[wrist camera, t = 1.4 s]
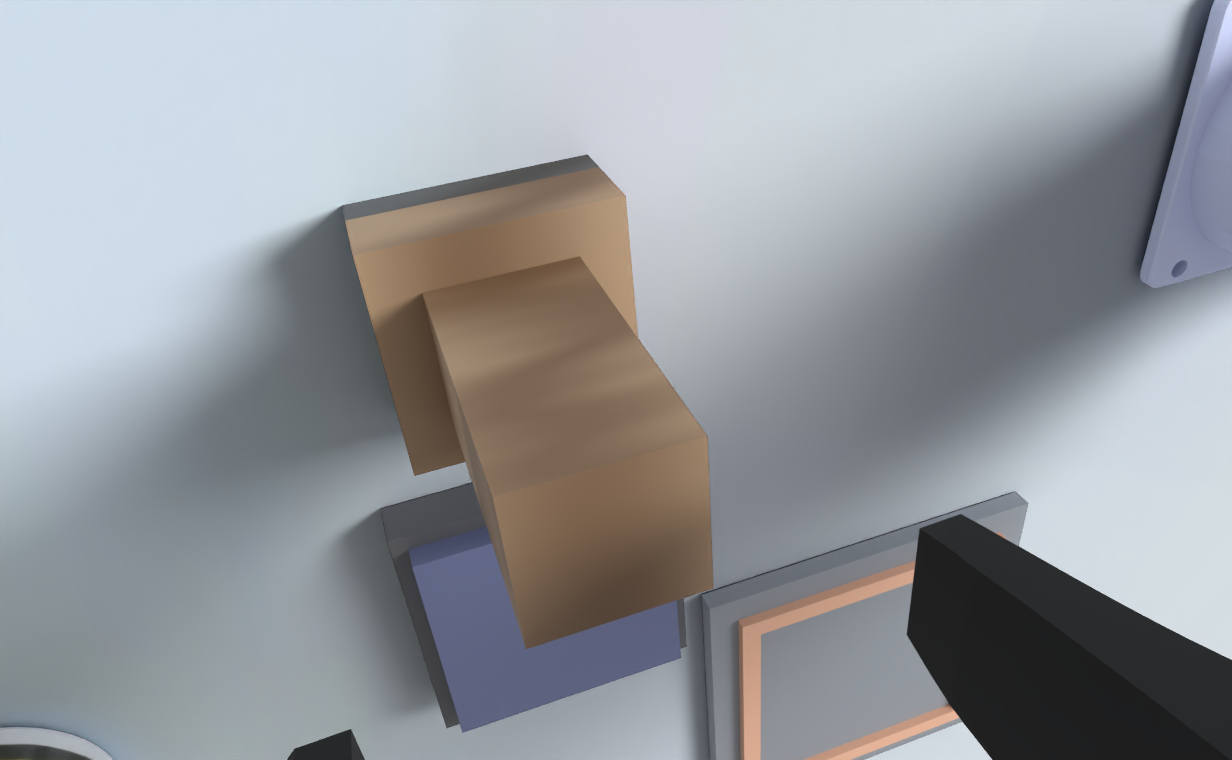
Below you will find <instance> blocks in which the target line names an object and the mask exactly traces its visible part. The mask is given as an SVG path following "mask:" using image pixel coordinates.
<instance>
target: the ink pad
mask: <svg viewBox="0 0 1232 760" xmlns="http://www.w3.org/2000/svg"><path fill="white" fill-rule="evenodd" d="M381 512H382V517H383V523H384V528H385V533H386V539H387V543H388V546H389V550H390V553H391V556H392V559H393V562H394V565H395V568H396V571H397V575H398V578H399V581H400V584H401V587H402V590H403V593H404V596H405V600H406V603H407V606H408V609H409V612H410V615H411V618H412V621H413V625H414V628H415V631H416V634H417V637H418V640H419V643H420V646H421V650H422V653H423V656H424V659H425V662H426V665H427V668H428V671H429V675H430V678H431V681H432V684H433V687H434V690H435V693H436V696H437V699H438V703H439V706H440V709H441V712H442V715H443V718H444V721H445V724H446V728H449V727H452V726H455V725H458V724H460V726H461V729H462V732H466V731H469V730H472V729H475V728H478V727H481V726H484V725H486V724H489V723H492V722H495V721H498V720H501V719H504V718H507V717H510V716H513V715H516V714H519V713H521V712H524V711H527V710H530V709H533V708H536V707H539V706H542V705H545V704H548V703H551V702H554V701H556V700H559V699H562V698H565V697H568V696H571V695H574V694H577V693H580V692H583V691H586V690H589V689H591V688H594V687H597V686H600V685H603V684H606V683H609V682H612V681H615V680H618V679H621V678H624V677H626V676H629V675H632V674H635V673H638V672H641V671H644V670H647V669H650V668H653V667H656V666H659V665H662V664H664V663H667V662H670V661H673V660H676V659H679V658H681V652H680V649H681V648H684V647H687V644H686V629H685V614H684V599H683V598H682V599H679V600H676V601H673V602H670V603H667V604H664V605H661V606H658V607H655V608H652V609H648V610H645V611H642V612H639V613H636V614H633V615H630V616H627V617H624V618H621V619H618V620H615V621H612V622H609V623H606V624H603V625H600V626H597V627H593V628H590V629H587V630H584V631H581V632H578V633H575V634H572V635H569V636H566V637H563V638H560V639H557V640H554V641H551V642H548V643H545V644H542V645H538V646H535V647H532V648H529V649H526V647H525V644H524V641H523V638H522V635H521V632H520V629H519V626H518V623H517V620H516V616H515V613H514V610H513V607H512V604H511V601H510V598H509V595H508V592H507V589H506V585H505V582H504V579H503V576H502V573H501V570H500V567H499V564H498V561H497V558H496V554H495V551H494V548H493V545H492V542H491V539H490V536H489V533H488V530H487V527H486V523H485V520H484V517H483V514H482V511H481V508H480V505H479V502H478V499H477V496H476V492H475V489H474V486H473V483H471V484H467V485H464V486H460V487H457V488H453V489H449V490H446V491H442V492H439V493H435V494H432V495H428V496H425V497H421V498H418V499H414V500H410V501H407V502H403V503H400V504H396V505H393V506H389V507H386V508H382V509H381Z"/></svg>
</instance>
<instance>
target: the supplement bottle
mask: <svg viewBox="0 0 1232 760" xmlns="http://www.w3.org/2000/svg"><path fill="white" fill-rule="evenodd" d="M0 760H113V759H112V758H111V757H110V756H109V755H108V754H107V753H106V752H105V751H104V750H103V749H101V748H100V747H98V746H97V745H95V744H94V743H91V742H89V741H87V740H85V739H83V738H80V737H78V736H75V735H71V734H68V733H64V732H60V731H55V730H50V729H42V728H29V727H5V728H0Z"/></svg>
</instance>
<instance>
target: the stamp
mask: <svg viewBox="0 0 1232 760" xmlns="http://www.w3.org/2000/svg"><path fill="white" fill-rule="evenodd" d="M342 210H343V214H344V219H345V223H346V228H347V232H348V237H349V241H350V246H351V250H352V254H353V258H354V262H355V265H356V269H357V273H358V276H359V280H360V283H361V287H362V290H363V294H364V298H365V301H366V305H367V308H368V312H369V315H370V319H371V322H372V326H373V330H374V333H375V337H376V340H377V344H378V347H379V351H380V355H381V358H382V362H383V365H384V369H385V372H386V376H387V380H388V383H389V387H390V390H391V394H392V397H393V401H394V404H395V408H396V412H397V415H398V419H399V422H400V426H401V429H402V433H403V437H404V440H405V444H406V447H407V451H408V454H409V458H410V462H411V465H412V469H413V472H414V476H416V475H419V474H423V473H426V472H430V471H434V470H437V469H441V468H445V467H448V466H452V465H455V464H459V463H463V462H466V465H467V468H468V471H469V474H470V477H471V480H472V483H473V486H474V489H475V492H476V496H477V499H478V502H479V505H480V508H481V511H482V514H483V517H484V520H485V523H486V527H487V530H488V533H489V536H490V539H491V542H492V545H493V548H494V551H495V554H496V558H497V561H498V564H499V567H500V570H501V573H502V576H503V579H504V582H505V585H506V589H507V592H508V595H509V598H510V601H511V604H512V607H513V610H514V613H515V616H516V620H517V623H518V626H519V629H520V632H521V635H522V638H523V641H524V644H525V647H526V649H529V648H532V647H535V646H538V645H542V644H545V643H548V642H551V641H554V640H557V639H560V638H563V637H566V636H569V635H572V634H575V633H578V632H581V631H584V630H587V629H590V628H593V627H597V626H600V625H603V624H606V623H609V622H612V621H615V620H618V619H621V618H624V617H627V616H630V615H633V614H636V613H639V612H642V611H645V610H648V609H652V608H655V607H658V606H661V605H664V604H667V603H670V602H673V601H676V600H679V599H682V598H685V597H688V596H691V595H694V594H697V593H700V592H703V591H707V590H710V589H713V566H712V540H711V514H710V489H709V463H708V437H707V435H706V433H705V432H704V430H703V429H702V428H701V426H700V425H699V423H698V422H697V421H696V419H695V418H694V416H693V415H692V414H691V412H690V411H689V409H688V408H687V407H686V405H685V404H684V402H683V401H682V399H681V398H680V397H679V395H678V394H677V392H676V391H675V390H674V388H673V387H672V385H671V384H670V383H669V381H668V380H667V378H666V377H665V376H664V374H663V373H662V371H661V370H660V368H659V367H658V366H657V364H656V363H655V361H654V360H653V359H652V357H651V356H650V354H649V353H648V352H647V350H646V349H645V347H644V346H643V345H642V343H641V342H640V340H639V339H638V333H637V322H636V310H635V299H634V288H633V276H632V265H631V253H630V242H629V230H628V219H627V207H626V196H625V195H624V193H623V192H622V191H621V190H620V189H619V188H618V187H617V186H616V185H615V184H614V183H613V182H612V181H611V179H610V178H609V177H608V176H607V175H606V174H605V173H604V172H603V171H602V170H601V169H600V168H599V167H598V165H597V164H596V163H595V162H594V161H593V160H592V159H591V158H590V157H589V156H588V155H583V156H578V157H573V158H569V159H564V160H559V161H554V162H549V163H545V164H540V165H535V166H530V167H525V168H521V169H516V170H511V171H506V172H501V173H496V174H492V175H487V176H482V177H477V178H472V179H468V180H463V181H458V182H453V183H448V184H444V185H439V186H434V187H429V188H424V189H420V190H415V191H410V192H405V193H400V194H395V195H391V196H386V197H381V198H376V199H371V200H367V201H362V202H357V203H352V204H347V205H343V206H342Z"/></svg>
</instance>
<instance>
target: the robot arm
mask: <svg viewBox="0 0 1232 760" xmlns="http://www.w3.org/2000/svg"><path fill="white" fill-rule="evenodd" d="M1231 267H1232V0H1214V3H1213V5H1212V8H1211V11H1210V15H1209V18H1208V22H1207V26H1206V29H1205V33H1204V37H1203V41H1202V44H1201V48H1200V52H1199V55H1198V59H1197V63H1196V67H1195V70H1194V74H1193V78H1192V81H1191V85H1190V89H1189V93H1188V96H1187V100H1186V104H1185V107H1184V111H1183V115H1182V119H1181V122H1180V126H1179V130H1178V133H1177V137H1176V141H1175V145H1174V148H1173V152H1172V156H1171V159H1170V163H1169V167H1168V171H1167V174H1166V178H1165V182H1164V185H1163V189H1162V193H1161V197H1160V200H1159V204H1158V208H1157V211H1156V215H1155V219H1154V223H1153V226H1152V230H1151V234H1150V237H1149V241H1148V245H1147V249H1146V252H1145V256H1144V260H1143V263H1142V267H1141V272H1140V278H1141V281H1142V282H1144V283H1146V284H1147V285H1149V286H1151V287H1153V288H1160V287H1163V286H1167V285H1170V284H1174V283H1178V282H1181V281H1185V280H1188V279H1192V278H1195V277H1199V276H1202V275H1206V274H1209V273H1213V272H1217V271H1220V270H1224V269H1227V268H1231ZM907 636H908V638H909V640H910V641H911V643H912V645H913V646H914V648H915V650H916V651H917V653H918V655H919V656H920V658H921V660H922V661H923V663H924V665H925V666H926V668H927V670H928V671H929V673H930V675H931V676H932V678H933V679H934V681H935V682H936V684H937V686H938V687H939V689H940V690H941V692H942V693H943V695H944V697H945V698H946V700H947V701H948V703H949V704H950V706H951V707H952V709H953V710H954V711H955V712H956V714H957V715H958V716H959V718H960V719H961V720H962V721H963V723H964V724H965V725H966V727H967V728H968V729H969V730H970V732H971V733H972V734H973V735H974V737H975V738H976V739H977V741H978V742H979V743H980V744H981V746H982V747H983V748H984V749H985V751H986V752H987V753H988V755H989V756H990V757H991V758H992V760H1232V660H1230V659H1228V658H1226V657H1224V656H1222V655H1220V654H1218V653H1216V652H1214V651H1212V650H1210V649H1208V648H1206V647H1204V646H1202V645H1200V644H1198V643H1195V642H1193V641H1191V640H1189V639H1187V638H1185V637H1183V636H1182V635H1180V634H1178V633H1176V632H1174V631H1172V630H1170V629H1168V628H1166V627H1164V626H1162V625H1160V624H1158V623H1156V622H1154V621H1152V620H1151V619H1149V618H1147V617H1145V616H1143V615H1141V614H1139V613H1137V612H1135V611H1134V610H1132V609H1130V608H1128V607H1126V606H1124V605H1122V604H1121V603H1119V602H1117V601H1115V600H1113V599H1111V598H1110V597H1108V596H1106V595H1104V594H1102V593H1100V592H1099V591H1097V590H1095V589H1093V588H1091V587H1090V586H1088V585H1086V584H1084V583H1082V582H1081V581H1079V580H1077V579H1075V578H1073V577H1072V576H1070V575H1068V574H1066V573H1065V572H1063V571H1061V570H1059V569H1058V568H1056V567H1054V566H1052V565H1051V564H1049V563H1047V562H1045V561H1043V560H1042V559H1040V558H1038V557H1036V556H1035V555H1033V554H1031V553H1029V552H1028V551H1026V550H1024V549H1022V548H1021V547H1019V546H1017V545H1015V544H1014V543H1012V542H1010V541H1008V540H1007V539H1005V538H1003V537H1001V536H1000V535H998V534H996V533H994V532H993V531H991V530H989V529H987V528H986V527H984V526H982V525H980V524H978V523H977V522H975V521H973V520H971V519H969V518H967V517H966V516H964V515H962V514H959V515H956V516H953V517H950V518H947V519H945V520H942V521H939V522H936V523H933V524H930V525H928V526H925V527H922V528H919V536H918V544H917V553H916V561H915V569H914V577H913V586H912V594H911V602H910V610H909V619H908V627H907ZM287 760H365V759H364V757H363V755H362V753H361V750H360V748H359V746H358V744H357V742H356V739H355V737H354V735H353V733H352V731H351V729H350V730H347V731H344V732H341V733H338V734H335V735H333V736H330V737H327V738H324V739H321V740H318V741H316V742H313V743H310V744H307V745H304V746H301V747H299V748H296V749H294V751H293V752H292V753H291V755H290V756H289V757H288V759H287Z"/></svg>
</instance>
